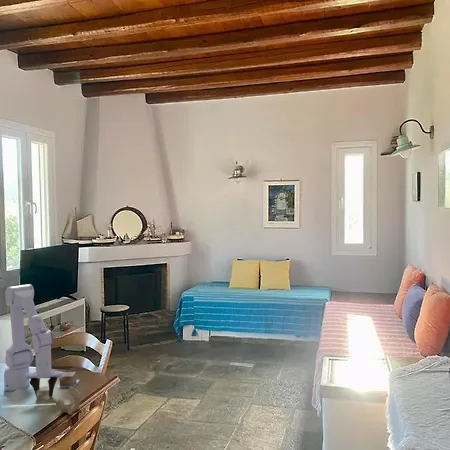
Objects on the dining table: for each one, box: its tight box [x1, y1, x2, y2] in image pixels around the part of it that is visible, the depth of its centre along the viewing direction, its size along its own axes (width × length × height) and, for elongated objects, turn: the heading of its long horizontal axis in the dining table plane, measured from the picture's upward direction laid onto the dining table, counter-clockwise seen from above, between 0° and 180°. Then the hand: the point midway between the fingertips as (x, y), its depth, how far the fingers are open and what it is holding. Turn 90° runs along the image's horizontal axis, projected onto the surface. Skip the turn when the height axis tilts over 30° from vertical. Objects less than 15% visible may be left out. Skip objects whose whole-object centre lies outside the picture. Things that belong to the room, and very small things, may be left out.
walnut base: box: [58, 371, 77, 386], centre depth 195 cm, size 6×6×4 cm
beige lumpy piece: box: [56, 387, 82, 415], centre depth 168 cm, size 9×6×10 cm
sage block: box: [36, 385, 52, 402], centre depth 180 cm, size 4×4×4 cm
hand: (44, 396), depth 180 cm, fingers closed on sage block, 4 cm apart
